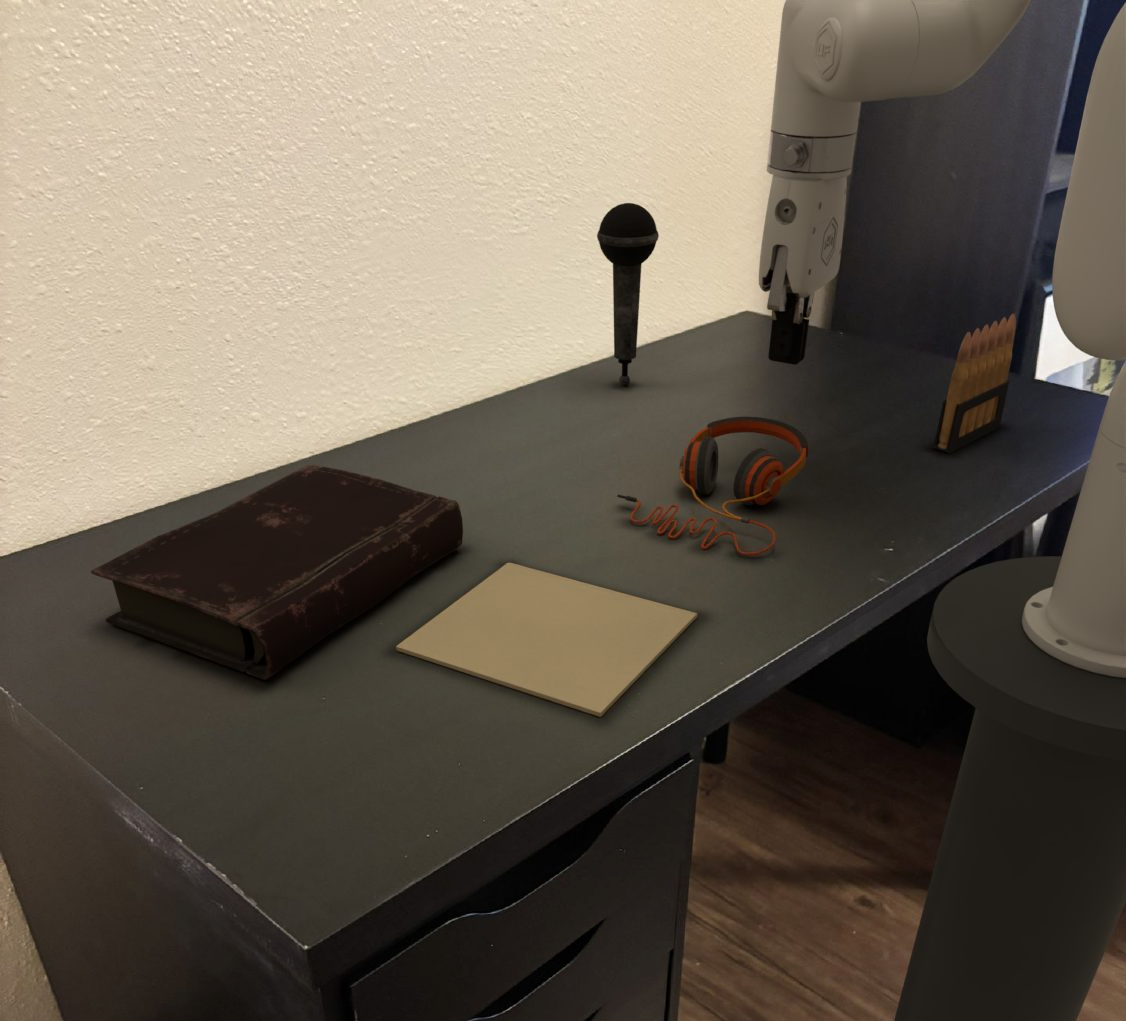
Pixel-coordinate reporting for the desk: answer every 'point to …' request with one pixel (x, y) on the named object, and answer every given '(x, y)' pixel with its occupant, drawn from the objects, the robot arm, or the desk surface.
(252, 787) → the desk surface
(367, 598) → the diary
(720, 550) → the desk surface
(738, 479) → the headphones
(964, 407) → the ammunition clip
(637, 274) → the microphone
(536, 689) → the flat square board
